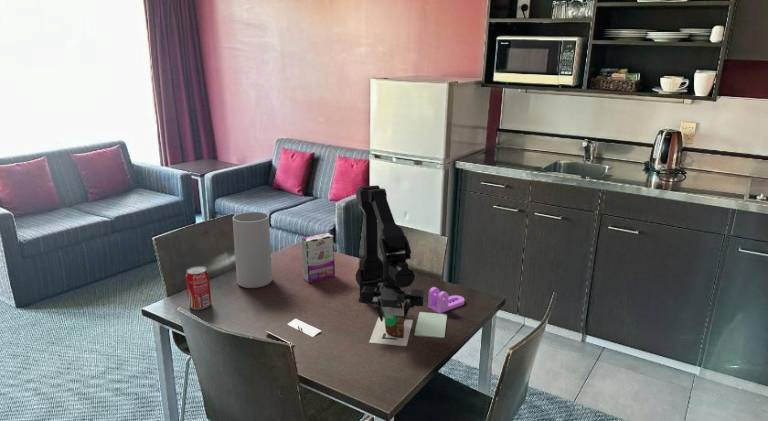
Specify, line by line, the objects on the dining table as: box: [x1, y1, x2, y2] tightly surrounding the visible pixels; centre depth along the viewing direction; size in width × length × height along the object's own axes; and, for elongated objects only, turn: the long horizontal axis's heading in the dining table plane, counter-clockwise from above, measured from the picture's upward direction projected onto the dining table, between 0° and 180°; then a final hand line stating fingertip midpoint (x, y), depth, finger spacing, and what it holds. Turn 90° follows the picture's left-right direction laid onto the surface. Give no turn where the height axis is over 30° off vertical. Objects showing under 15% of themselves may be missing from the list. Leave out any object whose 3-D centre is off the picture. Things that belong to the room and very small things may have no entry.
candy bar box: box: [301, 232, 336, 284], centre depth 201 cm, size 11×5×16 cm, turn 123°
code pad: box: [368, 316, 414, 347], centre depth 165 cm, size 11×16×1 cm
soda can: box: [185, 265, 212, 311], centre depth 178 cm, size 7×7×13 cm
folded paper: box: [265, 318, 322, 346], centre depth 163 cm, size 12×12×2 cm
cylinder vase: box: [232, 211, 273, 289], centre depth 196 cm, size 12×12×25 cm
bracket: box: [427, 286, 465, 314], centre depth 182 cm, size 13×6×7 cm, turn 127°
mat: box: [413, 311, 448, 339], centre depth 169 cm, size 9×15×1 cm, turn 171°
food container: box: [381, 303, 404, 338], centre depth 164 cm, size 12×6×10 cm, turn 5°
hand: (392, 321), depth 164 cm, fingers closed on food container, 6 cm apart
